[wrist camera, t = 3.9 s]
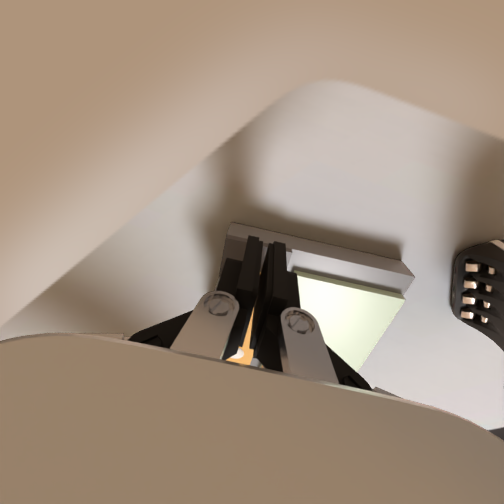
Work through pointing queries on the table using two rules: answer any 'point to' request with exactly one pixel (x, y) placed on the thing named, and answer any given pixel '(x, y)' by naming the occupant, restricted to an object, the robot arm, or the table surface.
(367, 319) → the grey holder stand
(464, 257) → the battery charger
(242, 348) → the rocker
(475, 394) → the table surface
